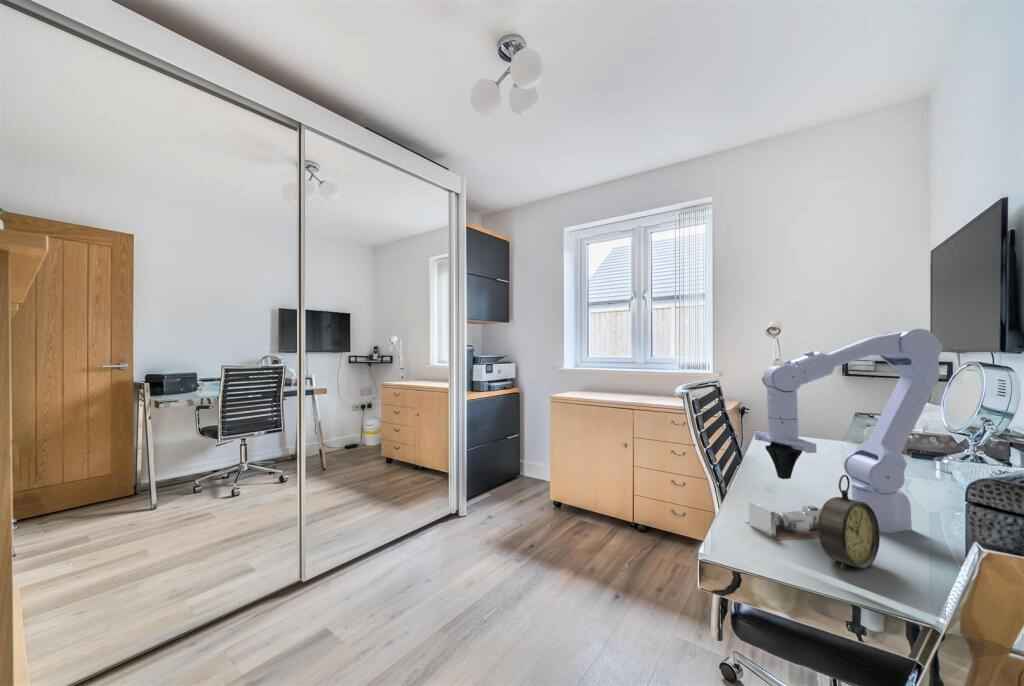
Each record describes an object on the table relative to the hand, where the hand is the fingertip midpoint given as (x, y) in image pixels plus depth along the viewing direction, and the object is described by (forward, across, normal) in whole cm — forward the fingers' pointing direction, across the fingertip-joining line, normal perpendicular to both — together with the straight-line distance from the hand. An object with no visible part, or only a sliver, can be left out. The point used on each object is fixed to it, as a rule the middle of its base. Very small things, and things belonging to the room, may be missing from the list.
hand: (784, 478), depth 89 cm
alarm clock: (+10, +19, -6) cm, 22 cm away
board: (+10, +5, -3) cm, 12 cm away
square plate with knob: (+9, +5, -7) cm, 12 cm away
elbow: (+9, +6, -2) cm, 10 cm away
